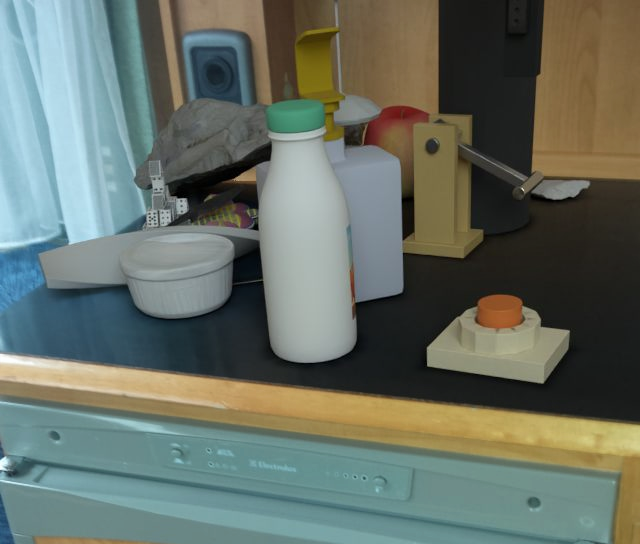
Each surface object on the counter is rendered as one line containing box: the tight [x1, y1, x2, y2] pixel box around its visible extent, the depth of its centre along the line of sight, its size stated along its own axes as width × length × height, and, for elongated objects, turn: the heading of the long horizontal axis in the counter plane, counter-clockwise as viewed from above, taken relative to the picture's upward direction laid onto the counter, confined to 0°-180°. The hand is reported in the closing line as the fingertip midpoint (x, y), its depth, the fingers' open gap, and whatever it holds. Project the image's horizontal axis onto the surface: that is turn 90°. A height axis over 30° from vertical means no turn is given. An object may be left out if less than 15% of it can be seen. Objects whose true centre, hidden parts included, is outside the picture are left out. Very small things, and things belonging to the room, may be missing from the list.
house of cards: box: [141, 161, 192, 230], centre depth 117 cm, size 9×9×8 cm
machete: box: [165, 185, 245, 227], centre depth 113 cm, size 15×3×1 cm, turn 113°
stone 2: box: [530, 179, 591, 201], centre depth 119 cm, size 6×8×2 cm
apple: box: [362, 105, 431, 200], centre depth 121 cm, size 10×10×10 cm
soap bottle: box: [255, 26, 404, 304], centre depth 91 cm, size 12×7×23 cm, turn 109°
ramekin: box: [119, 233, 235, 320], centre depth 98 cm, size 11×11×5 cm
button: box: [477, 294, 523, 329], centre depth 82 cm, size 4×4×2 cm
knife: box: [232, 275, 263, 286], centre depth 104 cm, size 10×2×1 cm, turn 96°
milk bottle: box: [257, 98, 358, 364], centre depth 83 cm, size 8×8×20 cm
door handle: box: [37, 224, 260, 290], centre depth 104 cm, size 26×5×5 cm
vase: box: [437, 0, 538, 236], centre depth 105 cm, size 10×10×30 cm
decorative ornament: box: [177, 193, 259, 230], centre depth 115 cm, size 17×2×10 cm
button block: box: [426, 305, 571, 384], centre depth 84 cm, size 10×7×4 cm
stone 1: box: [133, 97, 272, 193], centre depth 122 cm, size 15×28×10 cm, turn 50°
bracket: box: [402, 113, 484, 259], centre depth 105 cm, size 7×6×13 cm
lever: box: [433, 119, 545, 201], centre depth 101 cm, size 12×6×2 cm, turn 62°
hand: (521, 75), depth 83 cm, fingers closed
